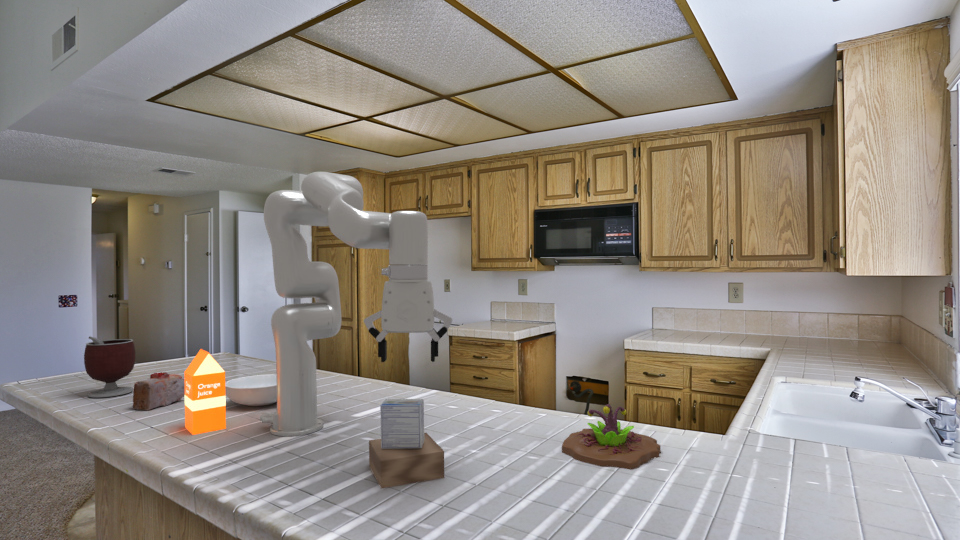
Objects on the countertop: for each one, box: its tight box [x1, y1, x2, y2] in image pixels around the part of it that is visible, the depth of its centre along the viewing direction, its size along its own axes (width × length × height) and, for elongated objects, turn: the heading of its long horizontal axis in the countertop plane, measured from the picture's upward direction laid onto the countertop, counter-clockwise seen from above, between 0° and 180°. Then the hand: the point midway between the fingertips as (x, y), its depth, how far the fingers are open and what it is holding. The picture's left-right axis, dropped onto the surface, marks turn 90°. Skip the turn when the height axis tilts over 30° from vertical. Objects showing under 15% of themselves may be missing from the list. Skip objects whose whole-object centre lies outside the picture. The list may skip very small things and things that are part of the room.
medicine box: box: [379, 398, 425, 449], centre depth 99 cm, size 8×4×9 cm, turn 88°
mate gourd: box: [83, 336, 136, 398], centre depth 169 cm, size 16×14×20 cm
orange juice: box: [183, 348, 227, 436], centre depth 130 cm, size 8×9×20 cm
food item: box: [131, 372, 185, 411], centre depth 154 cm, size 14×8×10 cm, turn 168°
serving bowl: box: [225, 373, 277, 407], centre depth 155 cm, size 21×21×7 cm
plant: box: [561, 403, 661, 470], centre depth 110 cm, size 20×20×11 cm
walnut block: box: [368, 432, 445, 489], centre depth 99 cm, size 12×12×6 cm
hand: (408, 360), depth 100 cm, fingers open, 9 cm apart
